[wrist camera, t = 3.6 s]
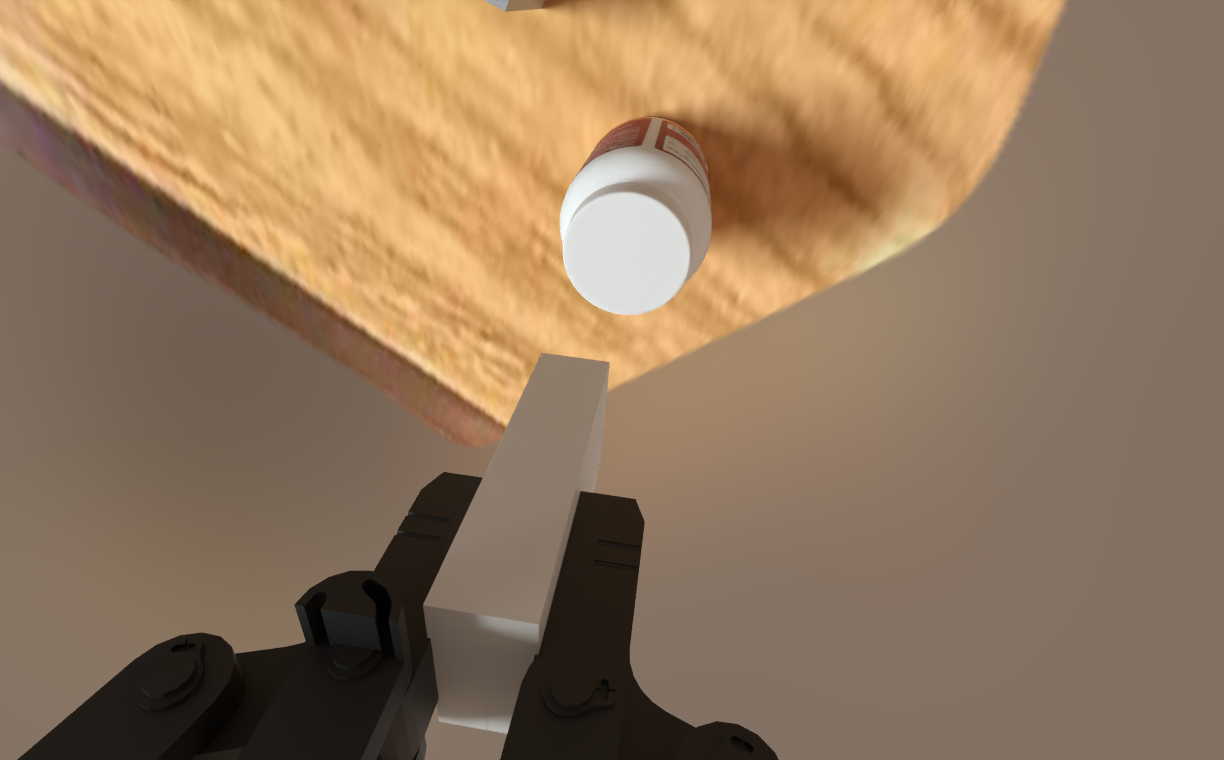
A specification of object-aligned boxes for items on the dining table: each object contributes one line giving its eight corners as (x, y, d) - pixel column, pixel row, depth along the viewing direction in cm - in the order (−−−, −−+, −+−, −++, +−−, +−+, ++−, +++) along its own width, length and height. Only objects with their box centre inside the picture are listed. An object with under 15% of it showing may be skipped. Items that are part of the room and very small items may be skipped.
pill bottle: (584, 229, 33) (537, 321, 23) (593, 106, 29) (542, 157, 20) (699, 245, 32) (696, 345, 23) (721, 123, 29) (728, 182, 20)
